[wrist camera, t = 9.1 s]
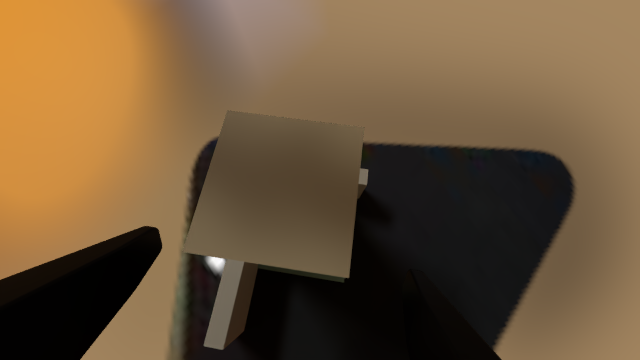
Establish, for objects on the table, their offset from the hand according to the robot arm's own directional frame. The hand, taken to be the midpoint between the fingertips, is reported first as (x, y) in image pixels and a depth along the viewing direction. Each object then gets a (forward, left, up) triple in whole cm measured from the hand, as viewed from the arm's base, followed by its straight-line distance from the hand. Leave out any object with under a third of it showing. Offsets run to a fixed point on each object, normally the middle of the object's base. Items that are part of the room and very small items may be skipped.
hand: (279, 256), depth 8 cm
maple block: (+2, 0, -12) cm, 12 cm away
